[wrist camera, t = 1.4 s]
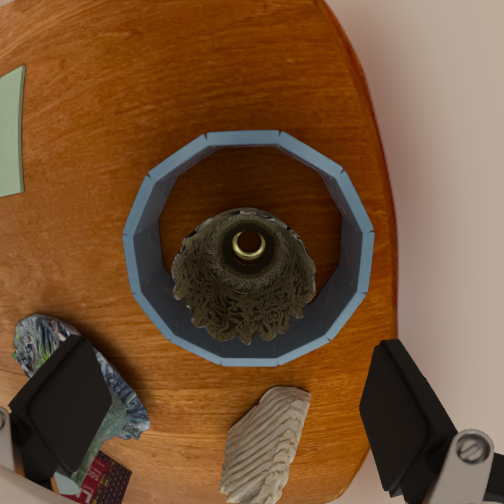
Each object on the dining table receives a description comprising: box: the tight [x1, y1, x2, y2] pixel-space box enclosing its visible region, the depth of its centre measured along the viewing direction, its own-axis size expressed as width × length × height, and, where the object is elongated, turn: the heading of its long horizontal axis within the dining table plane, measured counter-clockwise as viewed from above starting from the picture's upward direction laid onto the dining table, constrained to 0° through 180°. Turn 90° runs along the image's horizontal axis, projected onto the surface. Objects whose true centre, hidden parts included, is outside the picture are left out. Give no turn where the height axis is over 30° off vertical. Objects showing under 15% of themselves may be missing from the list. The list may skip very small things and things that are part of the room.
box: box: [60, 450, 132, 504], centre depth 25 cm, size 16×9×20 cm, turn 38°
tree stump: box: [12, 313, 150, 495], centre depth 22 cm, size 18×20×18 cm
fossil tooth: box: [219, 387, 311, 504], centre depth 24 cm, size 12×6×15 cm
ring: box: [122, 130, 374, 367], centre depth 20 cm, size 16×16×5 cm
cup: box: [171, 207, 316, 345], centre depth 19 cm, size 8×7×8 cm
